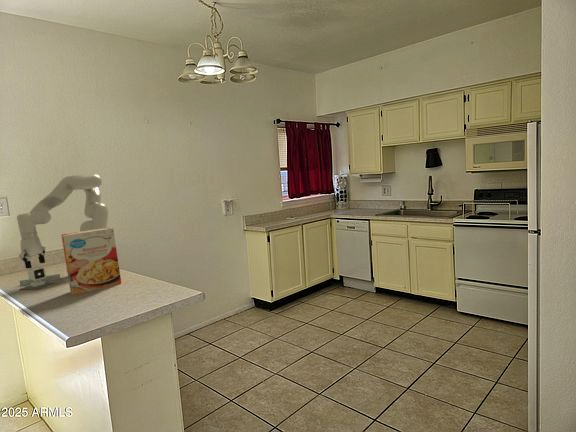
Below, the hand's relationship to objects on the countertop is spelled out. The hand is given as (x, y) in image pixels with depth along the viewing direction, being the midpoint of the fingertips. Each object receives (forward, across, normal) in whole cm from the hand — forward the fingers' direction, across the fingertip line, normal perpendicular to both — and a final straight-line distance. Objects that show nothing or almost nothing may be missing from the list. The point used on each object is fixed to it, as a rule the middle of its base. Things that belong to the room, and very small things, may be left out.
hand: (35, 265), depth 216 cm
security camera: (+11, +1, 0) cm, 11 cm away
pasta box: (+12, +9, +41) cm, 44 cm away
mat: (+12, +1, -1) cm, 12 cm away
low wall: (+12, -7, -6) cm, 15 cm away
